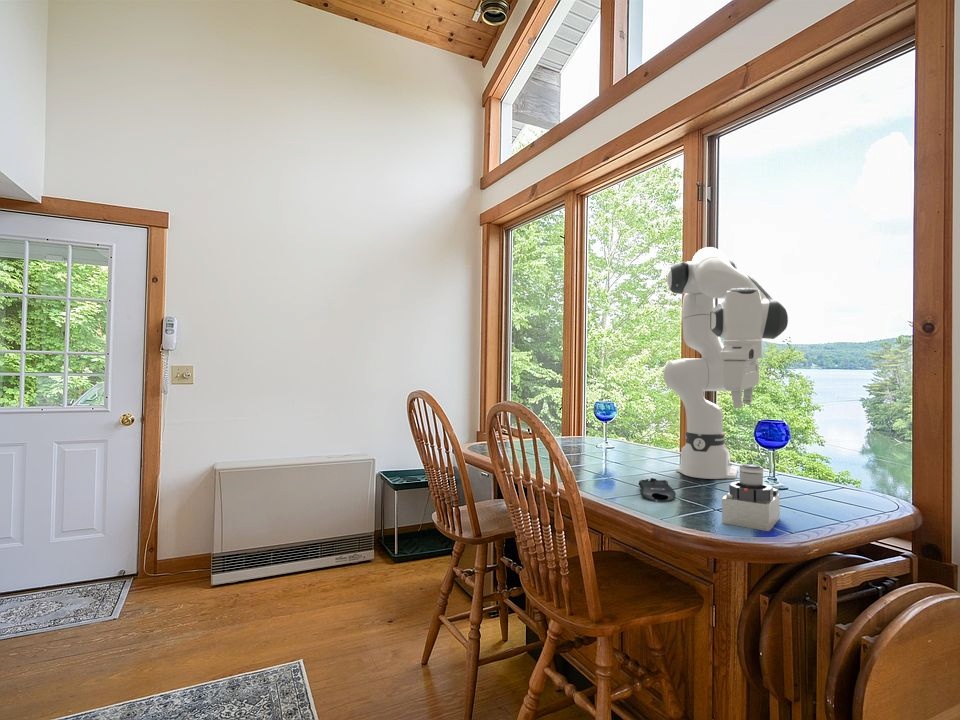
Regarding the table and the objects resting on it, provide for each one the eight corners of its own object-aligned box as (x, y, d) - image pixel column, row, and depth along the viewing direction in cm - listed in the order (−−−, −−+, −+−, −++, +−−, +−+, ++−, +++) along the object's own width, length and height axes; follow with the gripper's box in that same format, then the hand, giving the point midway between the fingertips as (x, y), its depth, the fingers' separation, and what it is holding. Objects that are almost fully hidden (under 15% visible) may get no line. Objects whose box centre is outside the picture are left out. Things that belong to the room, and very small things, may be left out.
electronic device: (635, 494, 162) (643, 500, 147) (637, 475, 163) (645, 479, 148) (667, 499, 161) (678, 505, 146) (669, 480, 161) (680, 485, 147)
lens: (742, 491, 133) (742, 462, 133) (765, 495, 129) (765, 465, 129) (736, 495, 129) (737, 466, 129) (760, 499, 125) (760, 469, 125)
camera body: (736, 510, 137) (735, 476, 137) (780, 517, 131) (779, 482, 131) (722, 523, 127) (721, 486, 127) (769, 531, 121) (768, 492, 121)
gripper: (739, 350, 146) (739, 400, 146) (718, 353, 130) (718, 409, 131) (765, 350, 142) (765, 402, 142) (746, 353, 126) (746, 411, 127)
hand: (742, 405), depth 136 cm, fingers open, 8 cm apart
